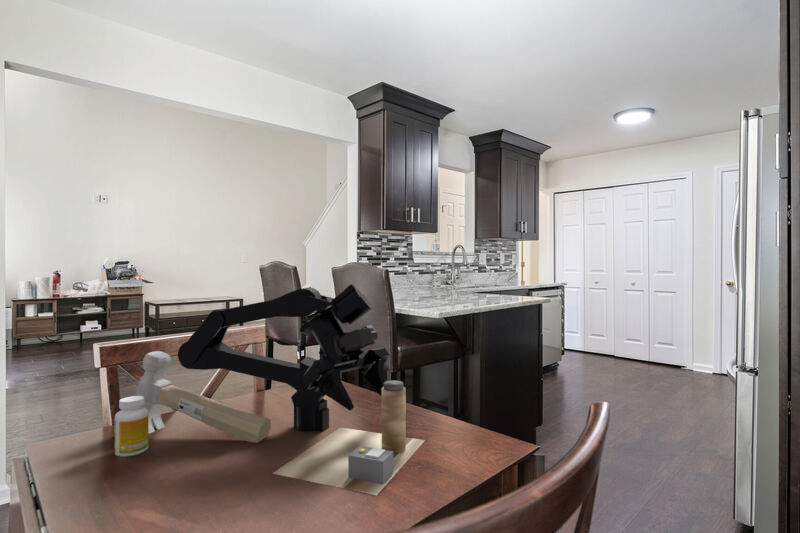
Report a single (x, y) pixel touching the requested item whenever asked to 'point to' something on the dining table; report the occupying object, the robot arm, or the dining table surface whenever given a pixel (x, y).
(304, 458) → the plywood panel
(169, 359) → the hammer
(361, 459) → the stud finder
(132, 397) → the supplement bottle
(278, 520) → the dining table surface
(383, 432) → the marker peg
